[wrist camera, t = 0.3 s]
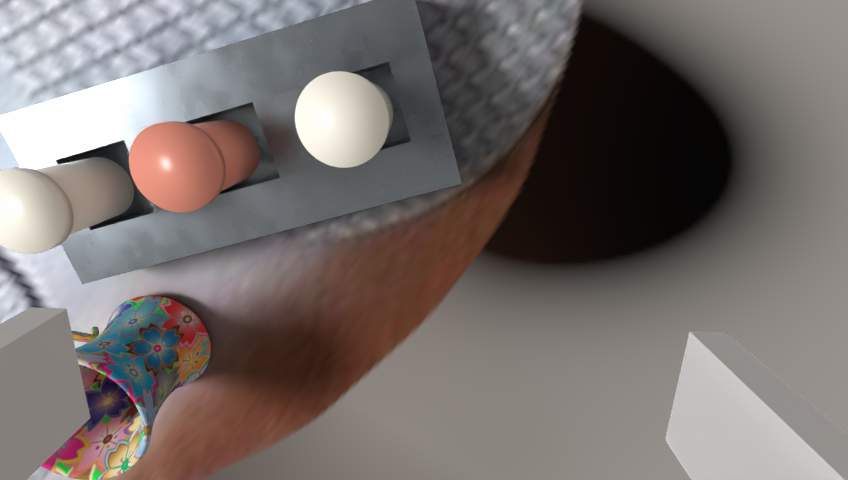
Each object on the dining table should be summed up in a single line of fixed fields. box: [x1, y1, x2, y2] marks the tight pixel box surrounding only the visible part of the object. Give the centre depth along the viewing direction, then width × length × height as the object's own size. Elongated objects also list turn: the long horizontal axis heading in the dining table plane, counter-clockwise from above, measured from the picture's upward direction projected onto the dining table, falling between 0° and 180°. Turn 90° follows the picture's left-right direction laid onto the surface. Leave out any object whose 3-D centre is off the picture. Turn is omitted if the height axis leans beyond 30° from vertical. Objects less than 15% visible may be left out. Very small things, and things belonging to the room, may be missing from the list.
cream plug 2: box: [295, 71, 393, 168], centre depth 27 cm, size 5×5×7 cm
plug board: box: [0, 0, 462, 284], centre depth 33 cm, size 12×28×4 cm, turn 105°
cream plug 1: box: [0, 157, 134, 254], centre depth 28 cm, size 5×5×7 cm
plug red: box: [129, 120, 260, 213], centre depth 27 cm, size 5×5×7 cm
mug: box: [41, 296, 211, 480], centre depth 35 cm, size 12×9×11 cm
